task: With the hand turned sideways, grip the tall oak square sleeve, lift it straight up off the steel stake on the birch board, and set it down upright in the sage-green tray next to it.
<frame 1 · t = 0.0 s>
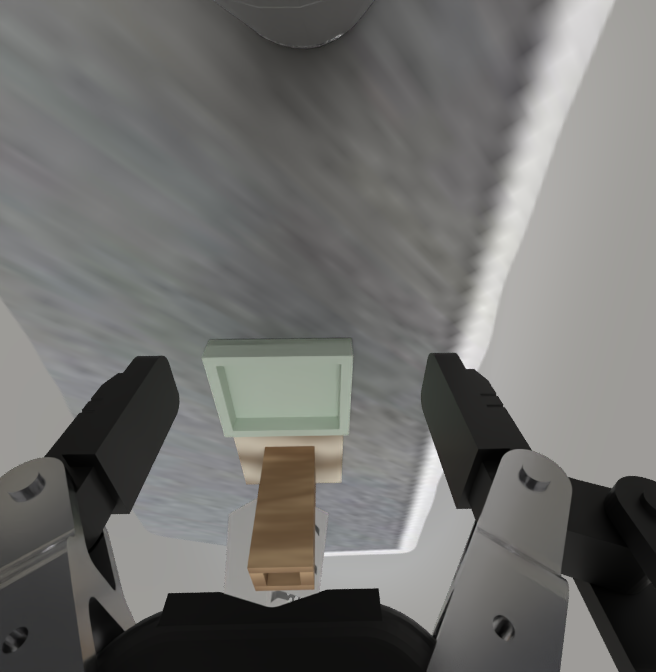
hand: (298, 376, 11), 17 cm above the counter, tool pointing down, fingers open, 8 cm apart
stake board: (292, 449, 42), on the counter
sleeve: (291, 460, 40), point 1 cm above the counter, touching stake board
tray: (284, 381, 35), on the counter
grater: (279, 512, 51), on the counter
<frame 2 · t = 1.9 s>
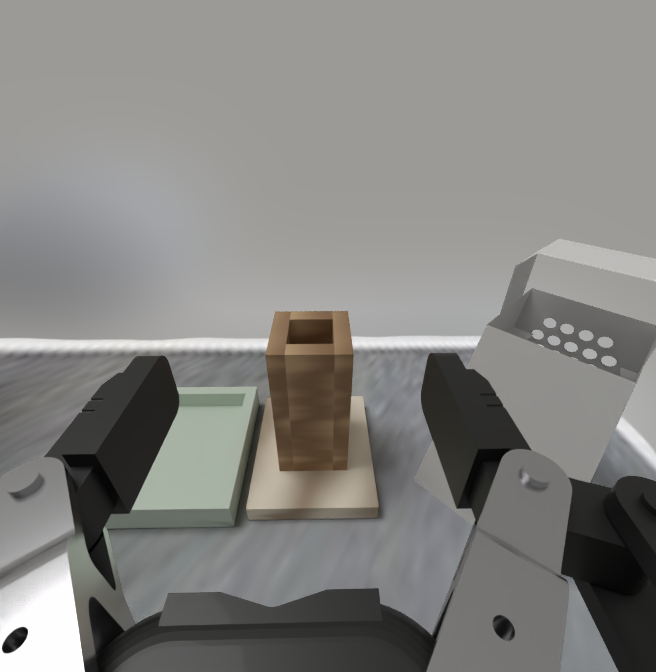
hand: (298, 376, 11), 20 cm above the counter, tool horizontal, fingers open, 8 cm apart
stake board: (314, 454, 32), on the counter
sleeve: (313, 443, 31), point 1 cm above the counter, touching stake board
tray: (188, 455, 31), on the counter
grater: (499, 482, 30), on the counter
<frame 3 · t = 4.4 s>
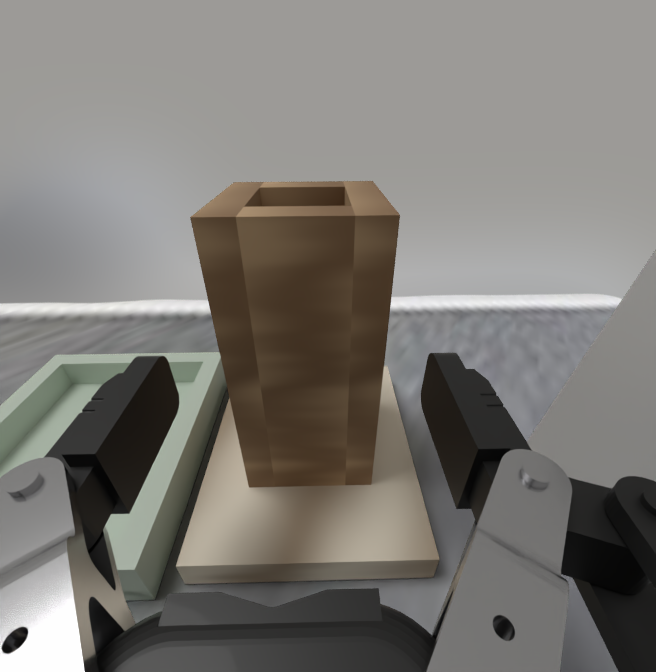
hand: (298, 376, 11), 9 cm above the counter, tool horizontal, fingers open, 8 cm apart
stake board: (312, 456, 19), on the counter
sleeve: (311, 437, 18), point 1 cm above the counter, touching stake board
tray: (101, 460, 19), on the counter
grater: (639, 503, 17), on the counter
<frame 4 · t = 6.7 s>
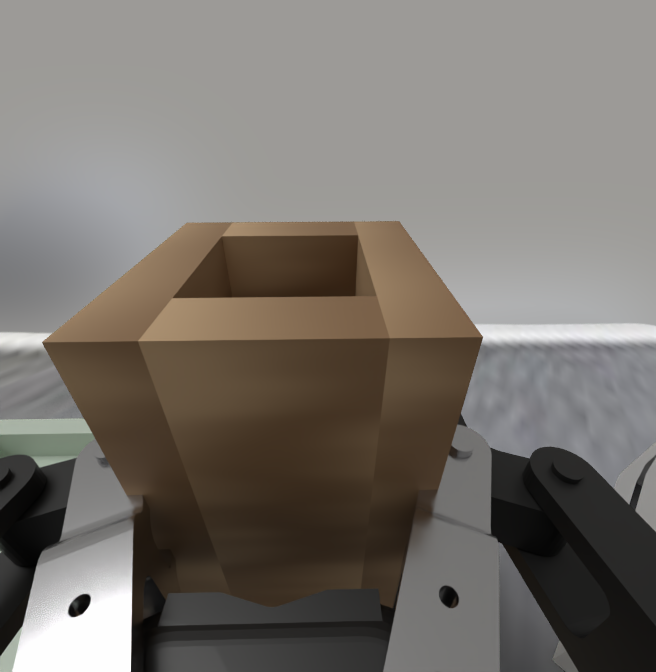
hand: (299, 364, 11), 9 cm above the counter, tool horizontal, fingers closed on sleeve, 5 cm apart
sleeve: (306, 557, 13), point 2 cm above the counter, touching gripper, stake board
tray: (24, 581, 14), on the counter
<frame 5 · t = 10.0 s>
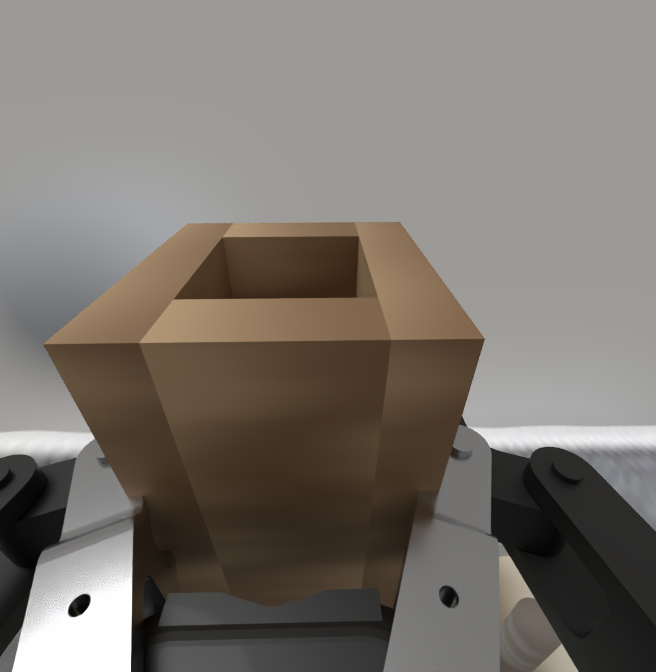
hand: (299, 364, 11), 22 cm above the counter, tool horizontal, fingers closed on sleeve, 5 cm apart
sleeve: (306, 558, 13), point 14 cm above the counter, touching gripper
when the fingers open (10 cm above the counter, at t = 13.4 s): sleeve drops 1 cm, resting on tray.
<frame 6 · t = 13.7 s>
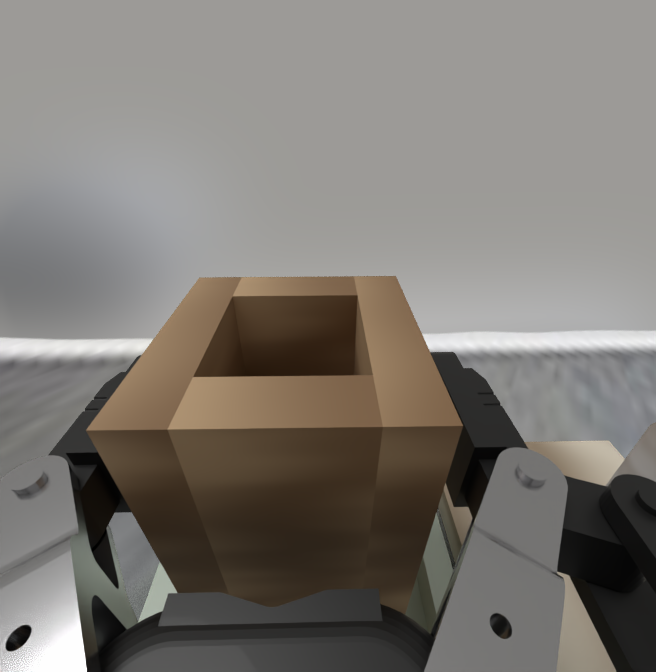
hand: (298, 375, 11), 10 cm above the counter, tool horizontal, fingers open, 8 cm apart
stake board: (576, 578, 15), on the counter
sleeve: (308, 578, 14), point 1 cm above the counter, touching tray
tray: (307, 584, 14), on the counter
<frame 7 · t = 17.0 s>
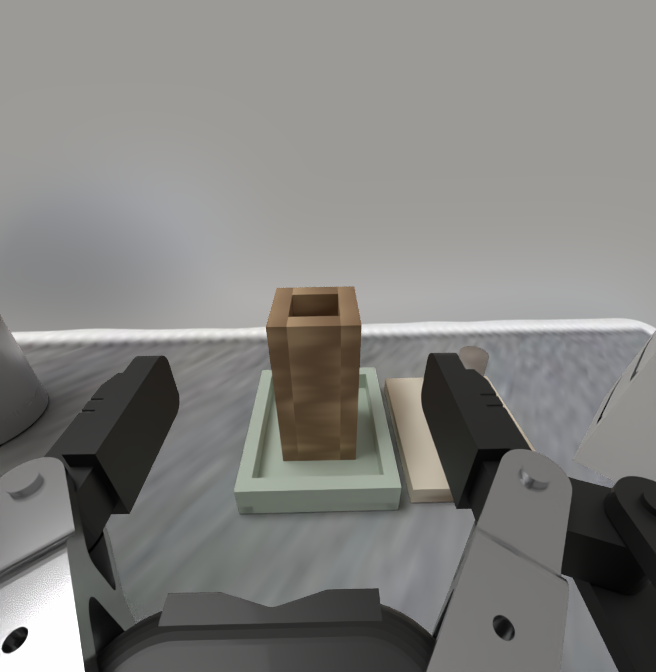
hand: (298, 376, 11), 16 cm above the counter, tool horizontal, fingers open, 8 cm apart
stake board: (453, 435, 29), on the counter
sleeve: (319, 432, 29), point 1 cm above the counter, touching tray
tray: (319, 438, 29), on the counter
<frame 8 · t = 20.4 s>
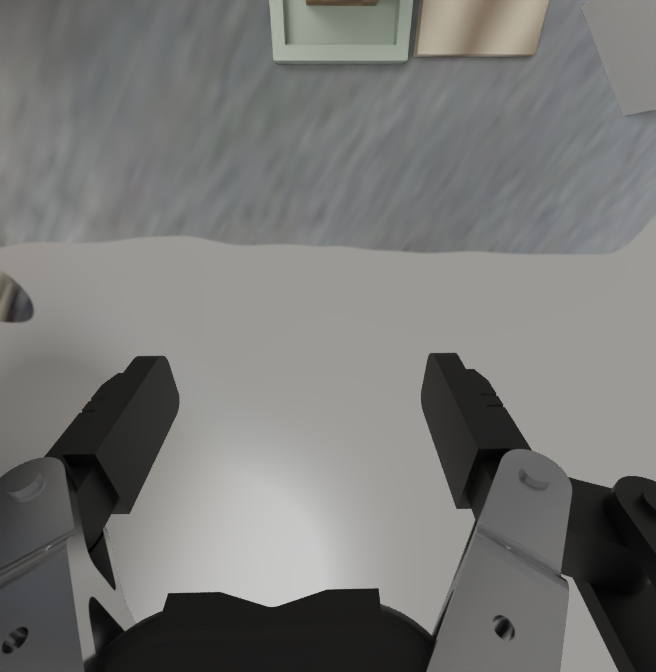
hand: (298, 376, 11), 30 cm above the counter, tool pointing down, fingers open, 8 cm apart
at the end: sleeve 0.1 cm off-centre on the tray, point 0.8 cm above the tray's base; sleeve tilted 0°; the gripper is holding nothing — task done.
